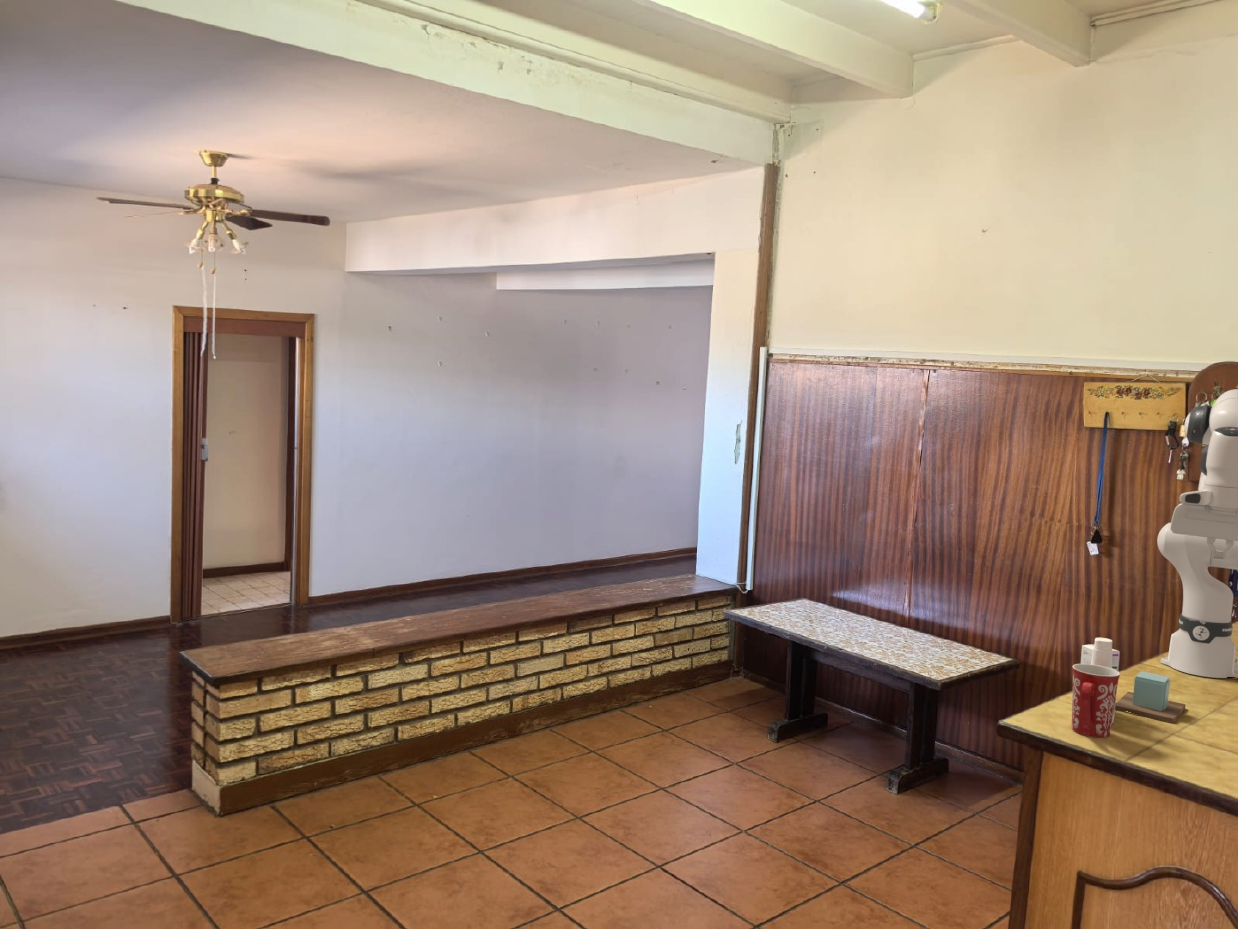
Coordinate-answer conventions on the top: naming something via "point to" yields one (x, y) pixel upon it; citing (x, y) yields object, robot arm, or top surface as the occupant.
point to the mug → (1093, 699)
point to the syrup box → (1087, 656)
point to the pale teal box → (1151, 691)
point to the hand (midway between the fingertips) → (1218, 558)
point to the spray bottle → (1103, 656)
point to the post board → (1165, 715)
